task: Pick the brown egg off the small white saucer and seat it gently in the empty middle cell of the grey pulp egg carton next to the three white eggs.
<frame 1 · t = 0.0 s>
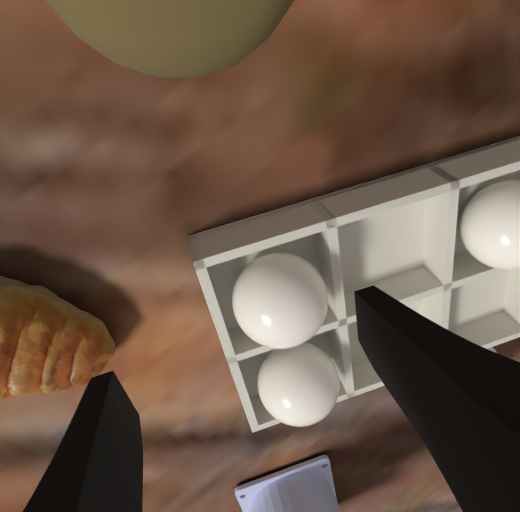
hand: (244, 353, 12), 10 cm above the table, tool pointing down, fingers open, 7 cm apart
white egg 2: (267, 274, 23), resting on egg carton
egg carton: (375, 280, 26), on the table
white egg 3: (285, 354, 27), resting on egg carton
white egg 1: (479, 206, 24), resting on egg carton
pastry: (5, 316, 21), on the table
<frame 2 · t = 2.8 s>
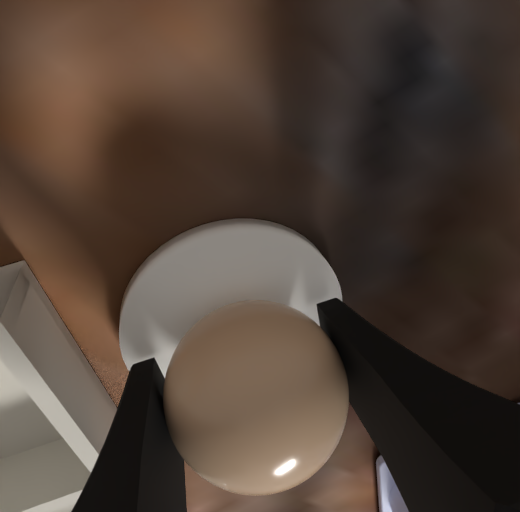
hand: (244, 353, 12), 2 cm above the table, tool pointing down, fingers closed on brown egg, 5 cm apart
saucer: (232, 315, 14), on the table
brown egg: (237, 331, 13), point 1 cm above the table, touching gripper, saucer
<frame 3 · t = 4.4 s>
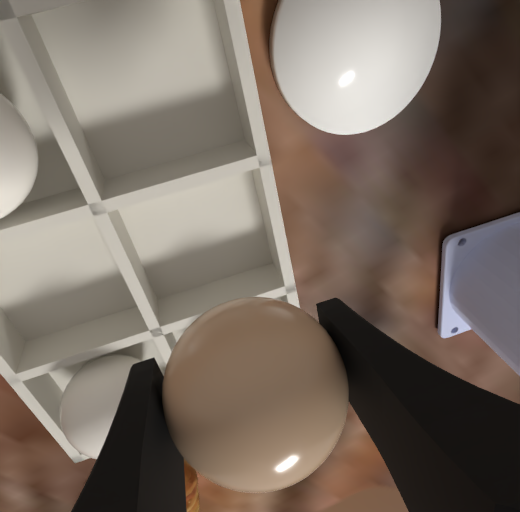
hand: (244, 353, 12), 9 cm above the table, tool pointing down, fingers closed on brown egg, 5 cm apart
saucer: (351, 43, 17), on the table
brown egg: (237, 328, 13), point 8 cm above the table, touching gripper
white egg 2: (115, 369, 22), resting on egg carton
egg carton: (130, 247, 19), on the table
pastry: (146, 493, 30), on the table
when the fingers open (3 cm above the table, at t = 6.0 s): brown egg drops 2 cm, resting on egg carton.
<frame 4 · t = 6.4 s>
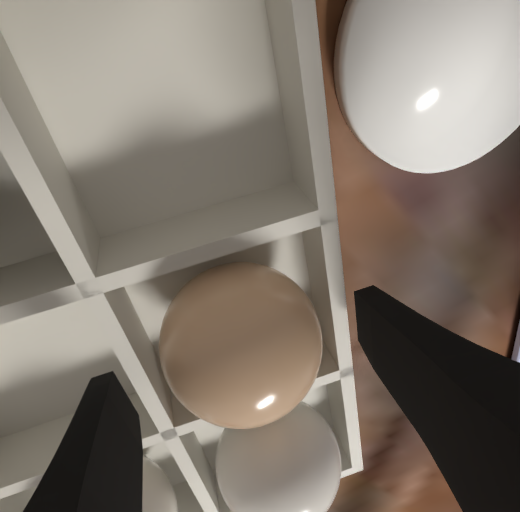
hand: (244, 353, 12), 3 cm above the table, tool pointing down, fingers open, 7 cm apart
saucer: (444, 50, 12), on the table
brown egg: (226, 295, 15), resting on egg carton
white egg 2: (114, 462, 18), resting on egg carton
egg carton: (134, 318, 15), on the table
white egg 3: (262, 410, 18), resting on egg carton
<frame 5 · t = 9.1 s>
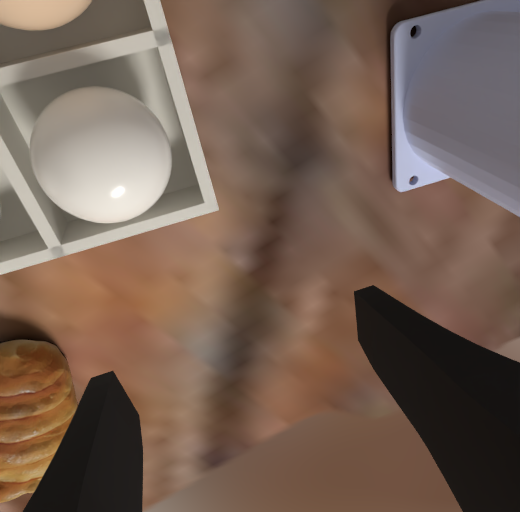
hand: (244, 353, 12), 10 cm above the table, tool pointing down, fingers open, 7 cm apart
white egg 3: (107, 138, 17), resting on egg carton
pastry: (15, 399, 24), on the table
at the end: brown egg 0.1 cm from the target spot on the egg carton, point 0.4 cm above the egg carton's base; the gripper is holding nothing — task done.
